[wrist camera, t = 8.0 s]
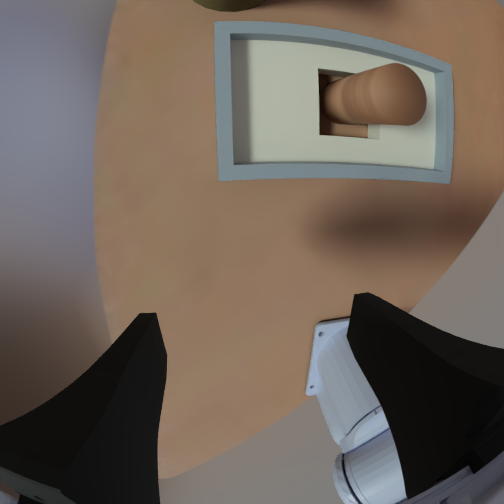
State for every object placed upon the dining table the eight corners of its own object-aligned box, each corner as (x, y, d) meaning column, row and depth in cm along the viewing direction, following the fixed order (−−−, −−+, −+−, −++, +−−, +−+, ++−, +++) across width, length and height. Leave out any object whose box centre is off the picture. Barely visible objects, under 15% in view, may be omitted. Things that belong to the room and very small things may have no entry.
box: (427, 176, 19) (450, 184, 16) (218, 174, 17) (218, 181, 15) (427, 68, 15) (451, 64, 13) (214, 37, 14) (214, 21, 11)
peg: (361, 87, 16) (428, 75, 10) (358, 128, 17) (424, 132, 11) (321, 76, 15) (377, 53, 9) (317, 119, 17) (372, 116, 10)
